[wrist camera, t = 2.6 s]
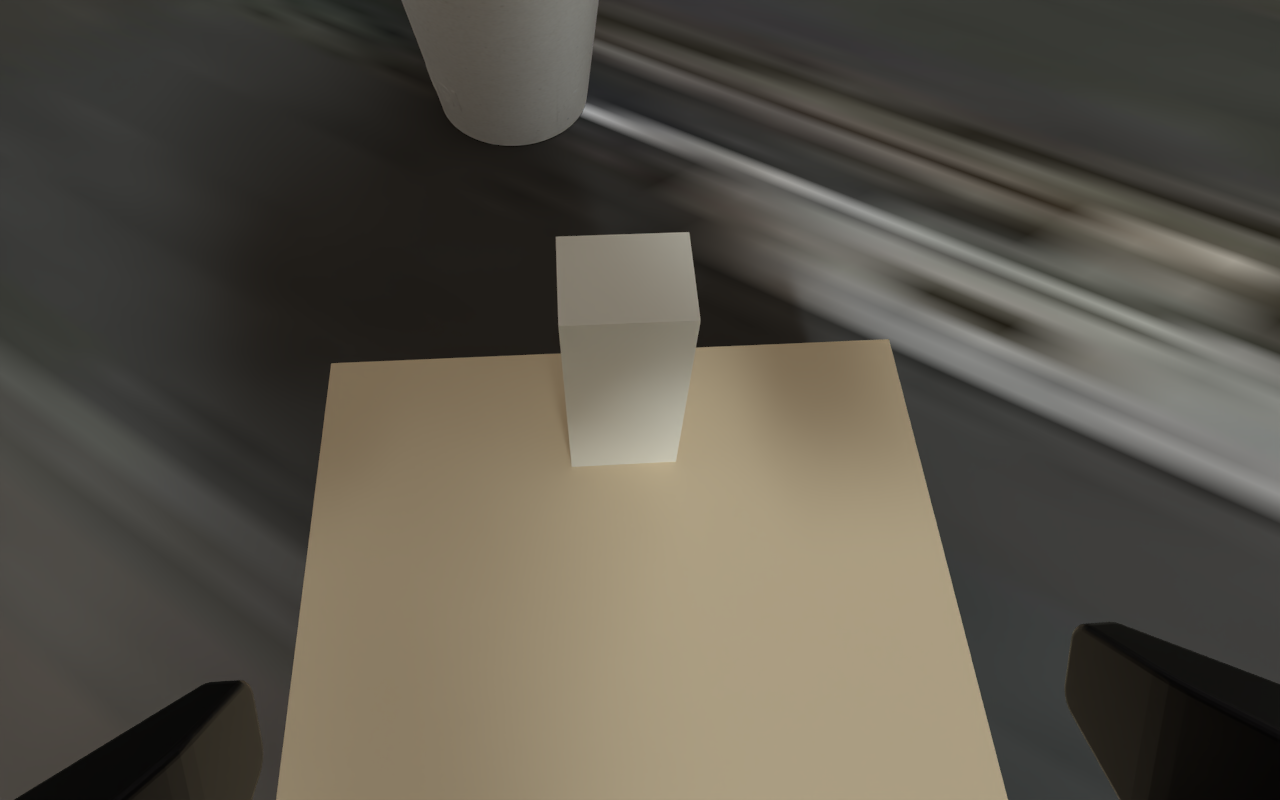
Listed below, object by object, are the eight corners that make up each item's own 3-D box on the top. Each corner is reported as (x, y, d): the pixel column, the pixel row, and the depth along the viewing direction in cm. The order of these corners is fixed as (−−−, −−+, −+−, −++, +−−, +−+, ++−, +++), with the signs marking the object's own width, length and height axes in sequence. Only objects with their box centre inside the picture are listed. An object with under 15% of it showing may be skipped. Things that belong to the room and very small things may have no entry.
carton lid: (1015, 882, 16) (1242, 900, 10) (269, 948, 15) (62, 1008, 9) (882, 351, 22) (979, 175, 16) (338, 375, 21) (236, 198, 15)
